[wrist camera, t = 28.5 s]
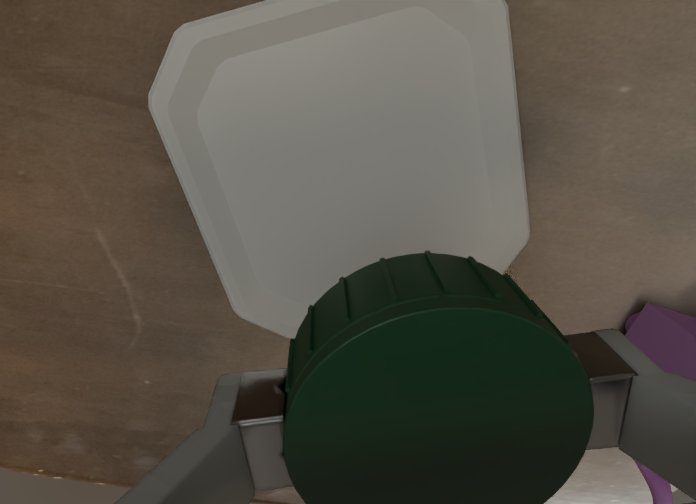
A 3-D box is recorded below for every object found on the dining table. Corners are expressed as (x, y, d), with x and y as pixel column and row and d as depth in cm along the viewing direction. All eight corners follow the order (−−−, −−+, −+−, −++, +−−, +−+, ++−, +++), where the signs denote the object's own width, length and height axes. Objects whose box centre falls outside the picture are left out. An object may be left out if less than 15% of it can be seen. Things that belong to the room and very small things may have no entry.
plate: (253, 336, 34) (249, 353, 32) (133, 42, 26) (118, 41, 24) (523, 266, 34) (537, 279, 31) (488, -59, 25) (503, -69, 23)
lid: (305, 231, 9) (301, 283, 7) (579, 267, 10) (650, 325, 8) (274, 452, 11) (264, 542, 9) (499, 469, 12) (538, 556, 10)
